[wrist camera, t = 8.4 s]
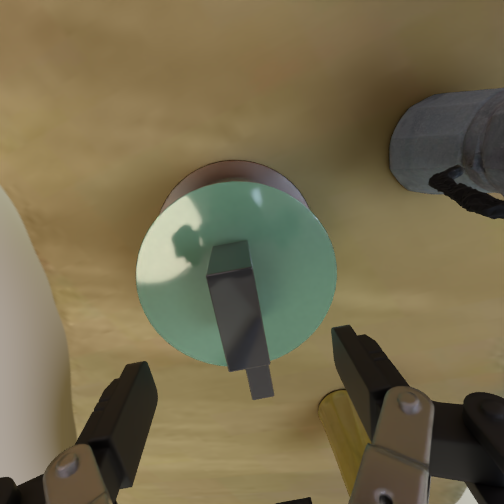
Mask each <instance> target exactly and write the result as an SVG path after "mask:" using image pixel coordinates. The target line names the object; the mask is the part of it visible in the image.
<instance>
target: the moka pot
mask: <svg viewBox="0 0 504 504" xmlns="http://www.w3.org/2000/svg"><path fill="white" fill-rule="evenodd" d="M389 150H390V154H389V160H390V170H391V172H392V173H393V175H394V177H395V178H396V179H397V180H398V181H399V182H400V184H401V185H403V186H404V187H405V188H406V189H407V190H409V191H414V192H420V193H428V194H444V195H446V196H449V197H450V198H451V200H452V199H453V200H455V201H456V202H457V203H458V204H459V205H460V206H462V208H465V209H466V210H467V211H469V212H475V213H478V214H481V215H483V216H486V217H489V218H492V219H497V218H502V219H504V201H502V200H499V199H496V198H494V197H492V196H491V195H489V194H487V193H491V192H495V193H501V194H502V195H503V197H504V88H497V89H485V90H476V91H465V92H452V93H442V94H435V95H432V96H430V97H428V98H426V99H424V100H422V101H420V102H419V103H417V104H415V105H413V106H412V107H410V108H409V109H408V110H407V111H406V113H405V114H404V115H403V117H402V118H401V119H400V121H399V122H398V124H397V126H396V128H395V130H394V133H393V135H392V137H391V142H390V147H389Z"/></svg>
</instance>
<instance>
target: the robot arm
mask: <svg viewBox="0 0 504 504" xmlns="http://www.w3.org/2000/svg"><path fill="white" fill-rule="evenodd" d="M331 333H332V344H333V354H334V361H335V365H336V369H337V371H338V374H339V376H340V378H341V380H342V382H343V384H344V386H345V388H346V391H347V393H348V395H349V397H350V399H351V401H352V403H353V405H354V407H355V409H356V412H357V414H358V416H359V418H360V420H361V422H362V424H363V426H364V428H365V431H366V433H367V435H368V437H369V439H370V441H371V444H370V443H367V445H366V447H365V450H364V453H363V456H362V460H361V463H360V466H359V470H358V473H357V476H356V480H355V483H354V487H353V490H352V493H351V497H350V500H349V503H348V504H429V494H430V483H431V476H434V477H440V478H446V479H452V480H458V481H464V482H465V484H466V485H467V487H468V488H469V490H470V491H471V493H472V494H473V496H474V498H475V499H476V500H477V502H478V504H504V398H502V397H499V396H497V395H494V394H490V393H485V392H475V393H471V394H469V395H467V396H466V397H465V399H464V403H463V405H462V404H451V403H441V402H436V401H432V400H430V398H429V397H428V396H427V395H426V394H424V393H423V392H421V391H420V390H417V389H415V388H412V387H410V386H409V385H408V383H407V382H406V381H405V379H404V378H403V377H402V375H401V374H400V373H399V371H398V370H397V369H396V368H395V366H394V365H393V364H392V362H391V361H390V360H389V359H388V357H387V356H386V354H385V353H384V352H383V351H382V349H381V348H380V346H379V345H378V344H377V342H376V341H375V340H373V339H372V338H370V337H368V336H367V335H365V334H364V335H359V336H357V335H356V333H355V332H354V330H353V329H352V327H351V326H350V325H344V326H339V327H333V328H332V329H331ZM157 401H158V394H157V389H156V386H155V383H154V380H153V377H152V374H151V371H150V368H149V366H148V363H147V362H146V361H143V362H137V363H132V364H127V365H126V366H125V368H124V370H123V372H122V374H121V376H120V378H118V379H114V380H113V381H112V383H111V384H110V385H109V386H108V387H107V388H106V389H105V390H104V392H103V394H102V396H101V397H100V399H99V403H97V405H96V407H95V408H94V412H92V414H91V416H90V418H89V419H88V421H87V423H86V425H85V427H84V429H83V431H82V432H81V434H80V436H79V438H78V440H77V442H76V443H75V445H74V446H72V447H70V448H68V449H66V450H64V451H63V452H62V453H60V454H59V455H58V456H57V457H56V458H55V459H54V460H53V461H52V462H51V463H50V465H49V466H48V467H47V469H46V471H45V473H44V474H42V475H40V476H38V477H36V478H34V479H31V480H29V481H27V482H25V483H23V484H21V485H18V486H16V484H15V482H14V481H13V479H11V478H9V477H3V478H0V504H118V503H117V501H116V498H117V495H118V492H119V489H123V488H128V487H132V485H133V482H134V479H135V475H136V472H137V469H138V466H139V462H140V459H141V456H142V452H143V449H144V446H145V442H146V439H147V436H148V433H149V429H150V426H151V423H152V419H153V416H154V413H155V409H156V406H157ZM276 504H312V501H311V497H308V498H303V499H297V500H292V501H286V502H281V503H276Z"/></svg>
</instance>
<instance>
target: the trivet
mask: <svg viewBox="0 0 504 504" xmlns="http://www.w3.org/2000/svg"><path fill="white" fill-rule="evenodd" d="M231 177H240V178H248V179H253V180H256V181H260V182H262V183H264V184H266V185H269V186H272V187H275V188H277V189H279V190H281V191H284V192H286V193H288V194H289V195H291V196H292V197H294V198H295V199H297V200H299V201H300V202H301V203H302V204H303V205H305V206H306V207H307V208H308V209H309V206H308V204H307V202H306V200H305V199H304V197H303V196H302V194H301V193H300V191H299V190H298V189H297V188H296V187H295V186H294V185H293V183H292V182H290V181H289V180H288V179H287V178H286V177H284V176H283V175H281V174H280V173H278V172H277V171H275V170H273V169H271V168H269V167H267V166H264V165H261V164H258V163H254V162H249V161H241V160H230V161H221V162H217V163H213V164H209V165H207V166H205V167H202V168H200V169H198V170H196V171H194V172H193V173H191V174H189V175H188V176H187V177H185V178H184V179H183V180H182V181H180V182H179V183H178V185H177V186H176V187H175V188H174V189H173V190H172V191H171V193H170V194H169V196H168V197H167V198H166V200H165V202H164V204H163V206H162V208H161V211H160V214H161V213H162V212H163V211H164V210H165V209H166V208H167V207H168V206H169V205H171V204H172V203H173V202H175V201H176V200H177V199H178V198H180V197H182V196H183V195H185V194H187V193H189V192H190V191H192V190H195V189H197V188H200V187H202V186H204V185H206V184H208V183H210V182H213V181H215V180H219V179H223V178H231ZM309 210H310V209H309ZM160 214H159V215H160Z"/></svg>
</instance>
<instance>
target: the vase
mask: <svg viewBox="0 0 504 504" xmlns="http://www.w3.org/2000/svg"><path fill="white" fill-rule="evenodd" d="M318 415H319V418H320V420H321V422H322V424H323V426H324V429H325V432H326V434H327V437H328V440H329V442H330V445H331V448H332V450H333V453H334V455H335V458H336V461H337V463H338V466H339V469H340V472H341V475H342V478H343V480H344V483H345V486H346V488H347V491H348V494H349V496H350V497H351V493H352V490H353V487H354V483H355V480H356V476H357V473H358V470H359V466H360V463H361V460H362V456H363V453H364V450H365V447H366V445H367V443H370V444H371V441H370V439H369V437H368V435H367V433H366V431H365V428H364V426H363V424H362V422H361V420H360V418H359V416H358V414H357V412H356V409H355V407H354V405H353V403H352V401H351V399H350V397H349V395H348V393H347V391H346V390H339V391H335V392H333V393H330V394H329V395H327V396H326V397H325V398H324V399H323V400H322V402H321V403H320V405H319V409H318Z"/></svg>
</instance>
